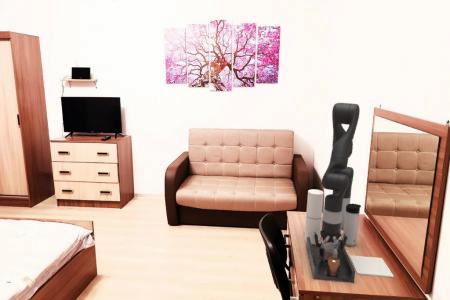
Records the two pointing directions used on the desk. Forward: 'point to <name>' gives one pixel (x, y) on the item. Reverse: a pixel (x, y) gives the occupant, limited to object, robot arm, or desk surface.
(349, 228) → the travel mug
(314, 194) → the cylindrical container
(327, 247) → the grey box
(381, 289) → the desk surface
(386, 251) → the desk surface
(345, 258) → the dark grey tray
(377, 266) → the white mat
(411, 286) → the desk surface
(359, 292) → the desk surface
